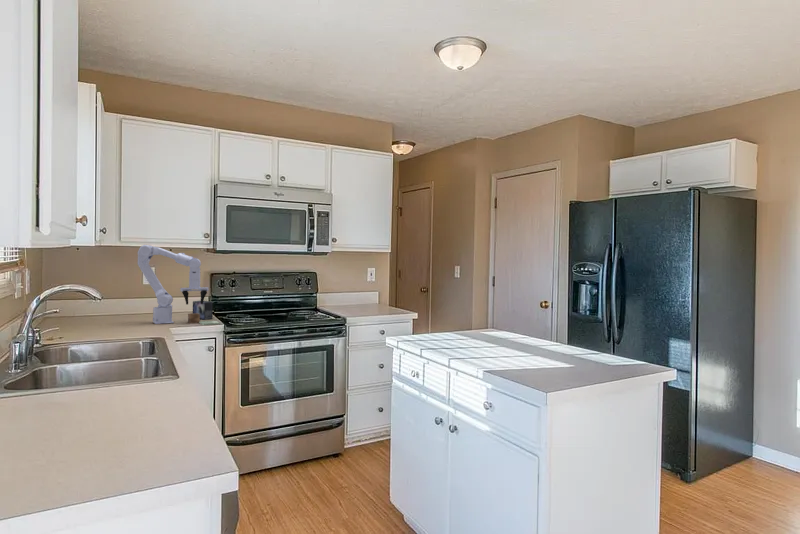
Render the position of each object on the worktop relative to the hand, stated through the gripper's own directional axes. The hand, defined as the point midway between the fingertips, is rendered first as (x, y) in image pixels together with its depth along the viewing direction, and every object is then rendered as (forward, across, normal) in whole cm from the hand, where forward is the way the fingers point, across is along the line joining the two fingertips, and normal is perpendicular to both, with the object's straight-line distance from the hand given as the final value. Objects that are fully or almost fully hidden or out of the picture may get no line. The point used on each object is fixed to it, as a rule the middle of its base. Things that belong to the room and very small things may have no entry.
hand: (194, 304), depth 272 cm
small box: (+11, +8, +15) cm, 20 cm away
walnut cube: (+10, 0, 0) cm, 10 cm away
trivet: (+10, +6, -7) cm, 14 cm away
